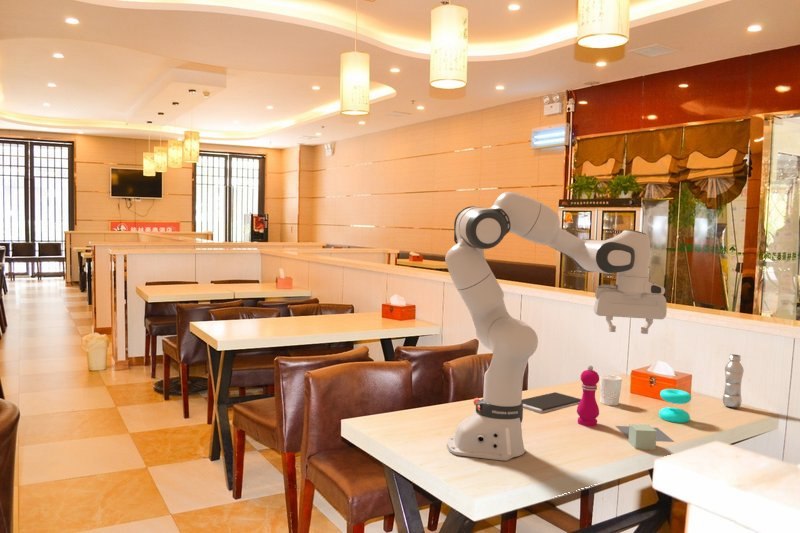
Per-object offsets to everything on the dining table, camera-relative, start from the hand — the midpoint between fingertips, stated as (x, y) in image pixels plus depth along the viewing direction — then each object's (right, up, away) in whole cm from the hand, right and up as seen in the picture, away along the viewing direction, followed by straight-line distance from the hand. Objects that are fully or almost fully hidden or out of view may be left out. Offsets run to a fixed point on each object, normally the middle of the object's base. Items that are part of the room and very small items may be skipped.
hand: (628, 332), depth 182 cm
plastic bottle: (+59, -34, +54) cm, 87 cm away
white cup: (+12, -33, +53) cm, 64 cm away
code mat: (+11, -35, +17) cm, 40 cm away
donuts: (+29, -35, +35) cm, 57 cm away
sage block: (+6, -35, +6) cm, 36 cm away
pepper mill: (-4, -34, +26) cm, 43 cm away
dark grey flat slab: (-11, -33, +50) cm, 61 cm away
